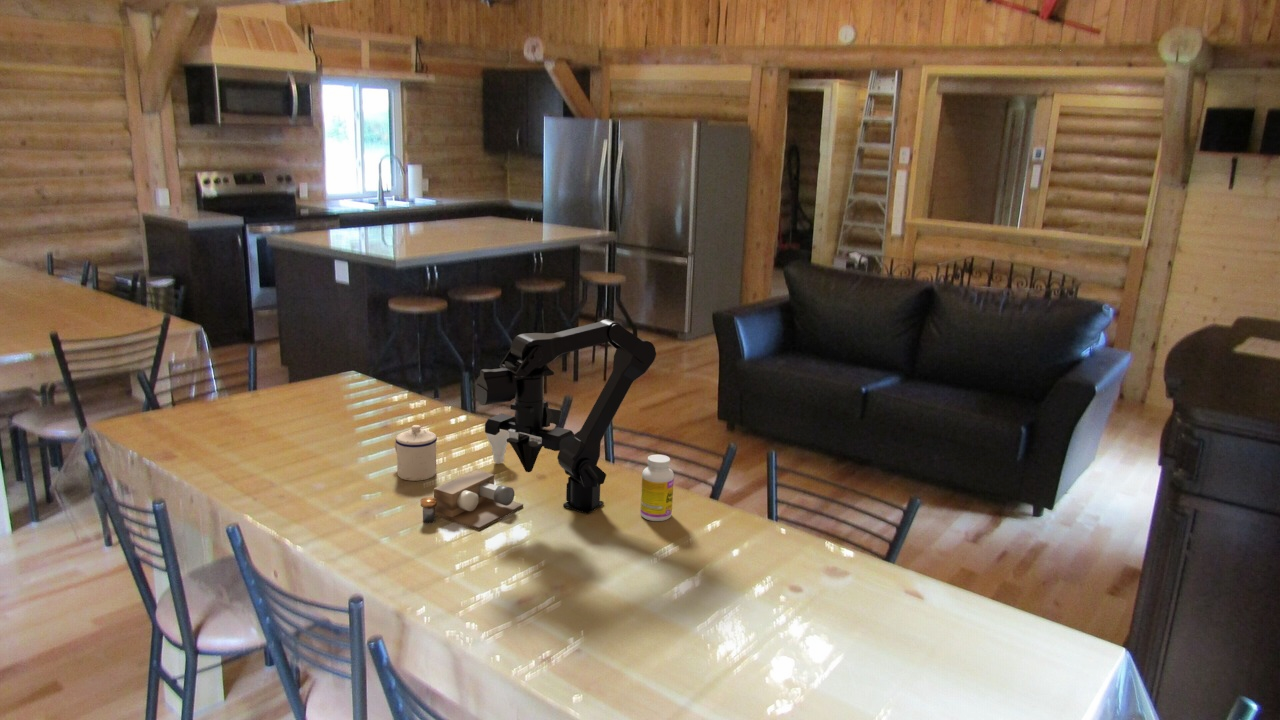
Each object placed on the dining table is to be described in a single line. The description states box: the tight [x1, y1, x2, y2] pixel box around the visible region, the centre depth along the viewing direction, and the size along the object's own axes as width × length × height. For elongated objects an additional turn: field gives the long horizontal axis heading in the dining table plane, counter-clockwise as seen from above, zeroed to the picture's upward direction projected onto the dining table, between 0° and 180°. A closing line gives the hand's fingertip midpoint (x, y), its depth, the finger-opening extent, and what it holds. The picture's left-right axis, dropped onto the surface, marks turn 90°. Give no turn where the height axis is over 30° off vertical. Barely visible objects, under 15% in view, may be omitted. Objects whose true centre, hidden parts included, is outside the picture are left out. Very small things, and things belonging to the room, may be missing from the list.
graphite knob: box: [479, 482, 515, 506], centre depth 182 cm, size 9×4×4 cm, turn 59°
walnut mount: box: [433, 469, 524, 531], centre depth 180 cm, size 13×14×6 cm
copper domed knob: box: [420, 496, 437, 524], centre depth 174 cm, size 3×3×4 cm
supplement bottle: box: [639, 454, 675, 522], centre depth 181 cm, size 7×7×13 cm
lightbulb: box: [485, 429, 509, 465], centre depth 205 cm, size 6×6×11 cm
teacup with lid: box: [394, 424, 438, 482], centre depth 198 cm, size 12×9×12 cm
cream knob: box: [457, 490, 479, 511], centre depth 179 cm, size 9×4×4 cm, turn 59°
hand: (528, 471), depth 176 cm, fingers closed
